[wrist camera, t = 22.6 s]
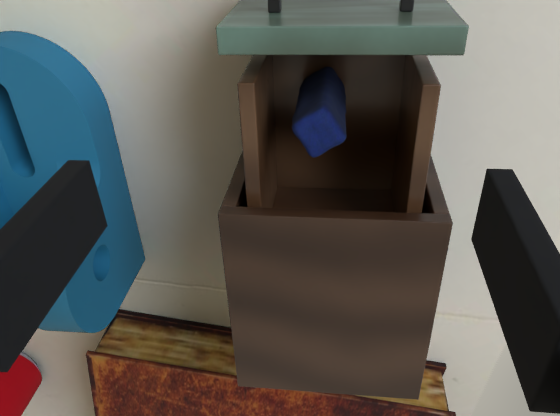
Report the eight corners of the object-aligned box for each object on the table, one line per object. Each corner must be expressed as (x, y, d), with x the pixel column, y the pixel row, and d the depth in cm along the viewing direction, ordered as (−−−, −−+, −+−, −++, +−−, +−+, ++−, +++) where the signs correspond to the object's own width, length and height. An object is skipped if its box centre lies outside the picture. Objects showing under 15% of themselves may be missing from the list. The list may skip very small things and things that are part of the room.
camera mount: (145, 259, 40) (89, 363, 31) (24, 254, 41) (-62, 353, 33) (89, 29, 30) (-13, 87, 22) (-67, 32, 32) (-224, 88, 23)
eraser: (316, 110, 30) (311, 164, 24) (297, 78, 29) (287, 126, 23) (348, 93, 29) (351, 144, 23) (330, 60, 28) (327, 104, 22)
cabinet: (248, 134, 33) (217, 214, 25) (426, 138, 32) (453, 222, 24) (259, 287, 41) (237, 386, 33) (403, 295, 39) (418, 400, 31)
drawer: (238, -132, 24) (199, -137, 18) (456, -140, 23) (499, -150, 17) (258, 187, 34) (237, 258, 28) (411, 192, 33) (427, 267, 27)
